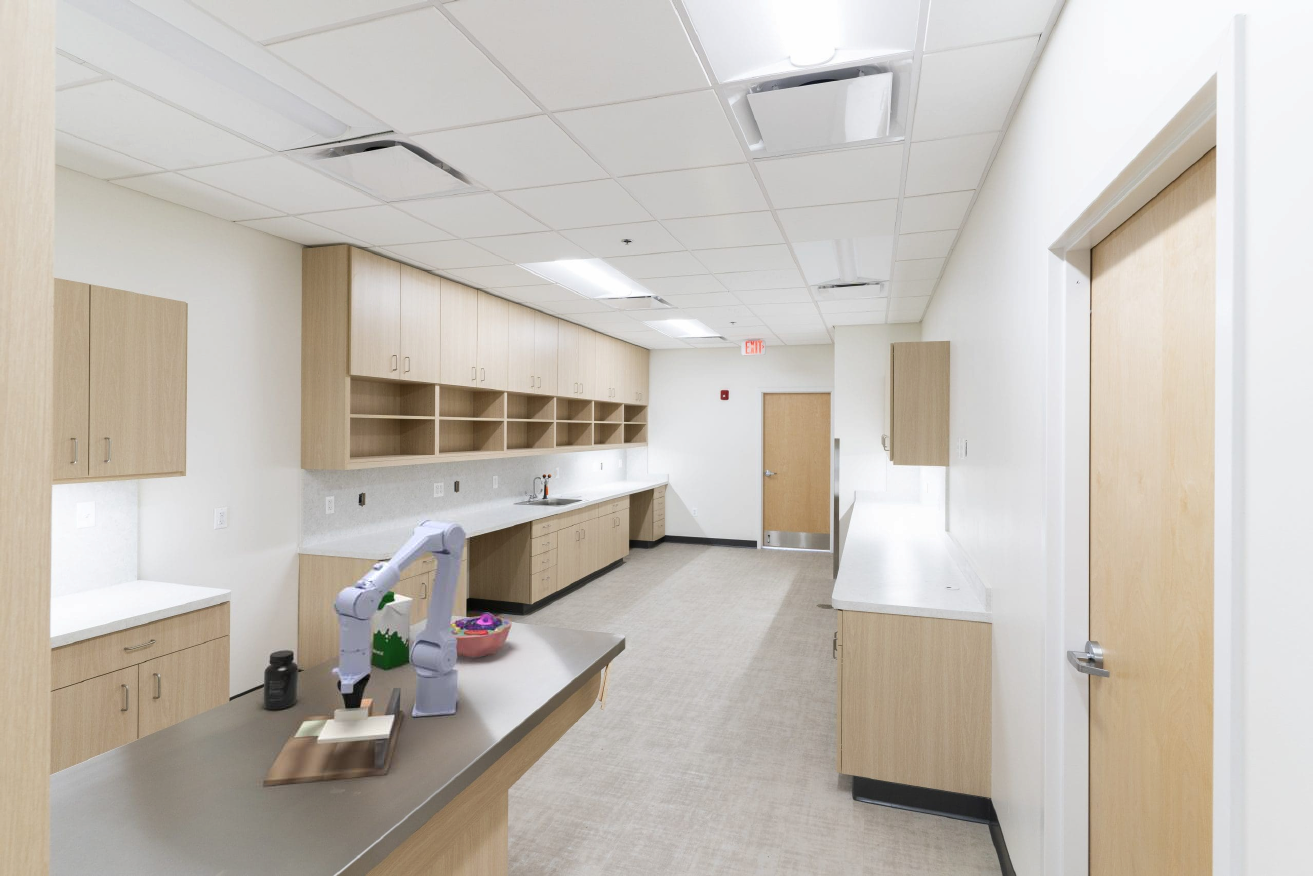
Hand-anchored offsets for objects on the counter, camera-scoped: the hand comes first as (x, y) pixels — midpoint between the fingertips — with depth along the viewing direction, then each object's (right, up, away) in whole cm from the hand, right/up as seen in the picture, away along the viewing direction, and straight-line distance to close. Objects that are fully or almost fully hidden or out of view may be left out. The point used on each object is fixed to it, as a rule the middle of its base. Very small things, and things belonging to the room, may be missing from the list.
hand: (352, 713), depth 128 cm
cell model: (+9, -7, +56) cm, 57 cm away
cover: (+3, -2, -4) cm, 5 cm away
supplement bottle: (-26, -7, +19) cm, 33 cm away
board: (-3, -8, +2) cm, 9 cm away
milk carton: (-12, -7, +46) cm, 48 cm away
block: (-3, -8, +9) cm, 12 cm away
